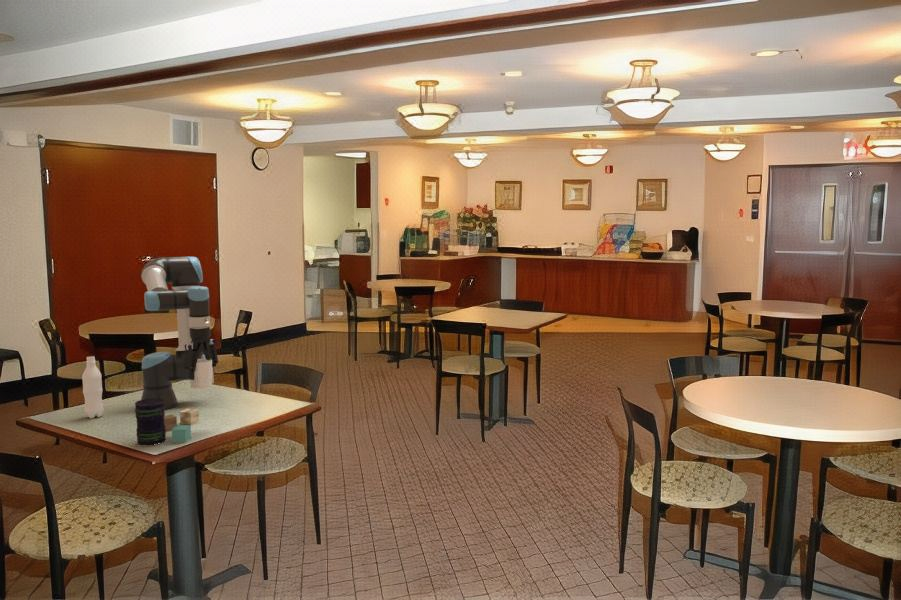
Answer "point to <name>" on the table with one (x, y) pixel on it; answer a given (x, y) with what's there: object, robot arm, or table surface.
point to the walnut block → (170, 422)
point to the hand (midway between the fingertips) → (202, 385)
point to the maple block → (189, 416)
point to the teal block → (181, 433)
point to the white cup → (204, 373)
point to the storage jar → (150, 421)
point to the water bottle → (92, 389)
